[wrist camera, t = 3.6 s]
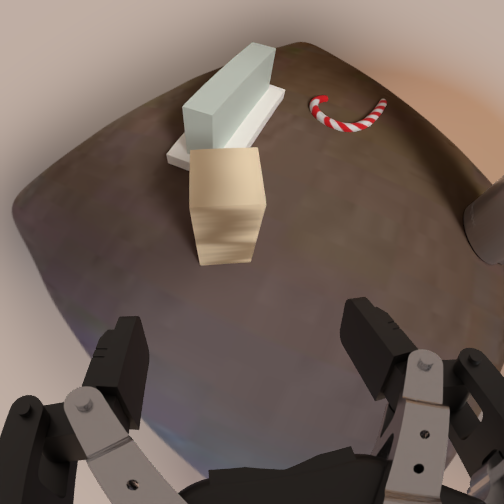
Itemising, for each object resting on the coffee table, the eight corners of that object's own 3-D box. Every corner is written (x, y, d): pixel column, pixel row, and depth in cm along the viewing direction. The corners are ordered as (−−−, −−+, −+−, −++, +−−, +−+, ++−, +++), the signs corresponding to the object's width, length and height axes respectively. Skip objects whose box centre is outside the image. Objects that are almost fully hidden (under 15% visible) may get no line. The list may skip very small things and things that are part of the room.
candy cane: (401, 112, 37) (340, 135, 33) (398, 117, 38) (336, 142, 34) (366, 82, 39) (300, 98, 35) (364, 88, 40) (298, 105, 36)
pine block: (245, 217, 28) (257, 147, 19) (250, 262, 26) (266, 204, 17) (198, 220, 27) (189, 150, 18) (200, 265, 26) (189, 207, 17)
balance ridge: (283, 97, 36) (294, 50, 28) (225, 185, 29) (228, 129, 22) (236, 82, 36) (241, 35, 29) (168, 163, 30) (157, 108, 22)
